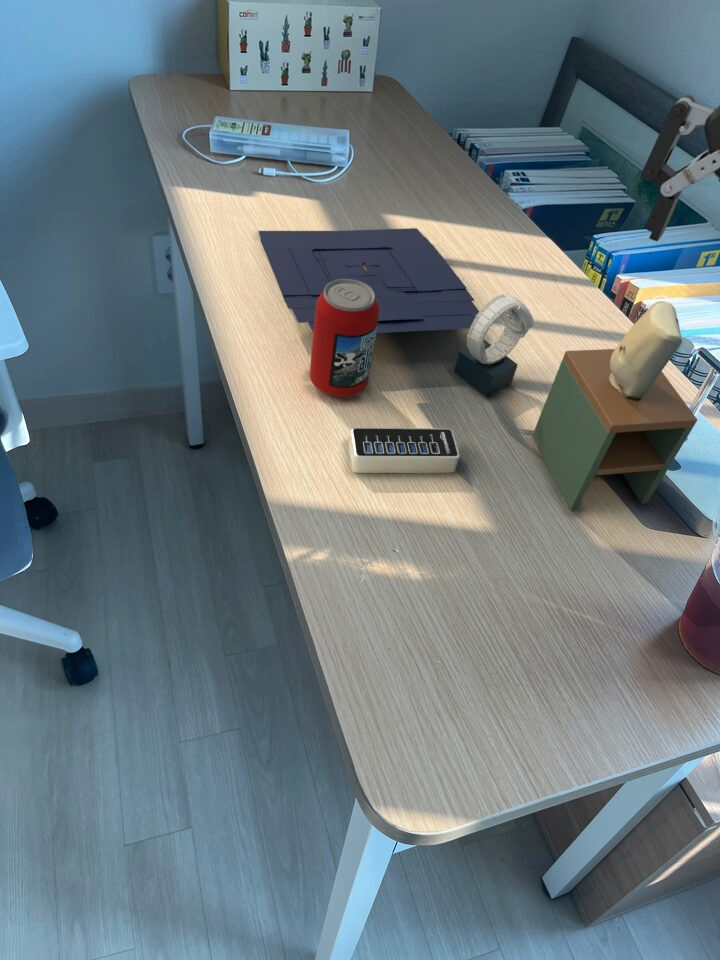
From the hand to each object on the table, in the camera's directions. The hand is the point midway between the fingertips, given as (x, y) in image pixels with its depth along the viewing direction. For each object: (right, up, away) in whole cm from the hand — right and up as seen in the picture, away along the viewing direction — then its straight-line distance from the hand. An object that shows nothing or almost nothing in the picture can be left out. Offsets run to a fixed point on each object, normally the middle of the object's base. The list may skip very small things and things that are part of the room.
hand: (705, 255), depth 62 cm
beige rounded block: (-2, -9, +12) cm, 15 cm away
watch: (-14, -6, +29) cm, 33 cm away
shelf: (-3, -17, +20) cm, 27 cm away
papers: (-28, +7, +39) cm, 48 cm away
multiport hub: (-24, -16, +18) cm, 34 cm away
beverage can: (-31, -7, +25) cm, 41 cm away
